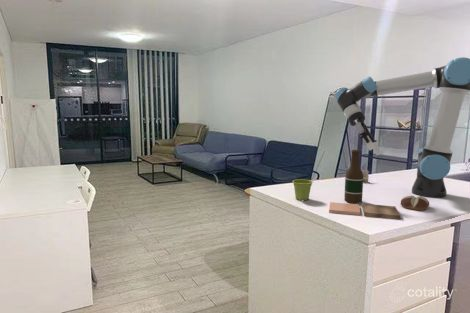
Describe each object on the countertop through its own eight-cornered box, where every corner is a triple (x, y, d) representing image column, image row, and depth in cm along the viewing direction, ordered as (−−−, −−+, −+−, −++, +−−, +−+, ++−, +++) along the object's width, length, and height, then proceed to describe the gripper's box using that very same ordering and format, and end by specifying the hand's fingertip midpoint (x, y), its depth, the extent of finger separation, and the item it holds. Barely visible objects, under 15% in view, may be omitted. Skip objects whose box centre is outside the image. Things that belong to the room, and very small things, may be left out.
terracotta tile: (358, 207, 142) (358, 204, 142) (360, 215, 131) (360, 212, 131) (330, 204, 146) (330, 202, 146) (329, 212, 135) (329, 209, 135)
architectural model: (366, 184, 190) (367, 171, 189) (354, 182, 194) (355, 170, 193) (368, 183, 193) (369, 170, 192) (356, 181, 197) (357, 169, 196)
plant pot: (312, 202, 150) (313, 183, 149) (291, 201, 152) (292, 182, 151) (311, 197, 159) (312, 179, 158) (292, 196, 161) (292, 178, 160)
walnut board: (395, 209, 138) (395, 206, 138) (400, 219, 126) (400, 215, 126) (362, 207, 142) (362, 203, 142) (364, 216, 130) (364, 212, 130)
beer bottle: (353, 204, 146) (356, 151, 143) (340, 200, 153) (342, 149, 150) (365, 202, 150) (368, 150, 147) (352, 198, 157) (355, 148, 153)
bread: (431, 207, 143) (432, 195, 143) (425, 212, 135) (426, 201, 134) (403, 202, 151) (404, 191, 150) (396, 207, 142) (397, 196, 142)
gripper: (355, 125, 173) (375, 160, 164) (339, 112, 153) (361, 150, 144) (368, 118, 170) (389, 152, 161) (354, 103, 150) (377, 142, 141)
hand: (376, 151), depth 152 cm, fingers open, 13 cm apart
